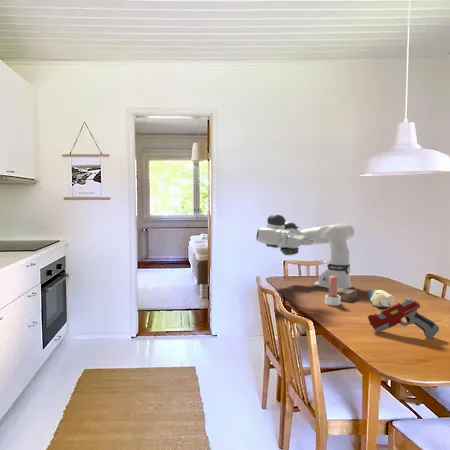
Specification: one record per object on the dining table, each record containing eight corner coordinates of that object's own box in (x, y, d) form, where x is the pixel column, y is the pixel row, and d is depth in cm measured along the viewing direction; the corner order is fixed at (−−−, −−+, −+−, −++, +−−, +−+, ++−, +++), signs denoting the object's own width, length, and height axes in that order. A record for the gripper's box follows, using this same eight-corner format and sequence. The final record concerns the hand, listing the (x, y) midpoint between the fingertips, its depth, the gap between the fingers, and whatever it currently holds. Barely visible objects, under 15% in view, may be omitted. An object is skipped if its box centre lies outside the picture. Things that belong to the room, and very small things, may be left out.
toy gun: (389, 353, 172) (366, 315, 174) (442, 331, 164) (417, 292, 166) (389, 356, 169) (366, 318, 171) (443, 334, 160) (417, 294, 163)
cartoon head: (389, 316, 202) (362, 305, 221) (403, 305, 204) (375, 294, 223) (382, 302, 200) (356, 292, 218) (396, 291, 202) (369, 281, 221)
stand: (331, 299, 224) (331, 290, 224) (339, 296, 232) (339, 287, 231) (349, 302, 218) (349, 293, 217) (356, 299, 225) (357, 290, 225)
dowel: (327, 303, 214) (327, 276, 213) (330, 302, 217) (331, 275, 216) (334, 305, 211) (335, 277, 210) (338, 303, 214) (338, 276, 213)
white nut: (323, 305, 213) (323, 296, 213) (329, 302, 219) (329, 293, 219) (336, 307, 209) (336, 298, 208) (342, 304, 214) (342, 295, 214)
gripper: (288, 242, 231) (313, 245, 227) (281, 246, 212) (308, 250, 208) (289, 231, 230) (315, 234, 226) (283, 234, 211) (310, 238, 207)
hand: (312, 242), depth 217 cm, fingers open, 8 cm apart
